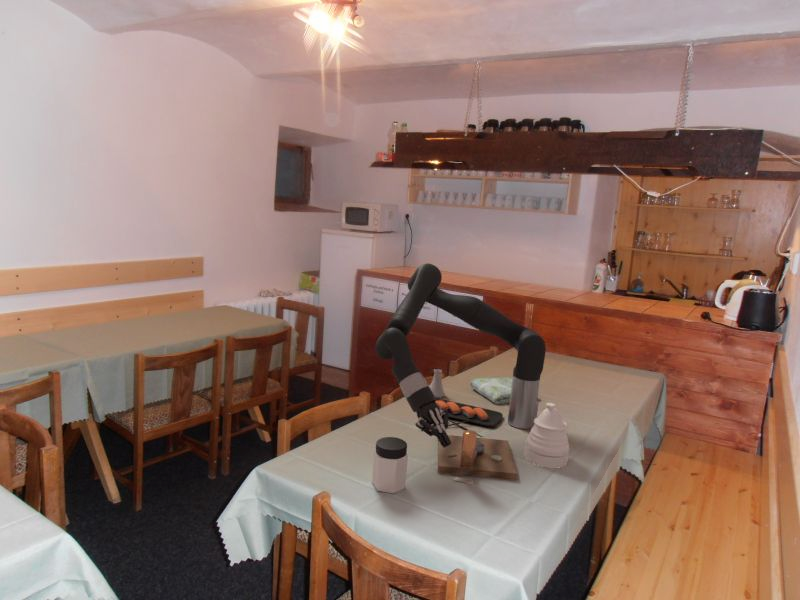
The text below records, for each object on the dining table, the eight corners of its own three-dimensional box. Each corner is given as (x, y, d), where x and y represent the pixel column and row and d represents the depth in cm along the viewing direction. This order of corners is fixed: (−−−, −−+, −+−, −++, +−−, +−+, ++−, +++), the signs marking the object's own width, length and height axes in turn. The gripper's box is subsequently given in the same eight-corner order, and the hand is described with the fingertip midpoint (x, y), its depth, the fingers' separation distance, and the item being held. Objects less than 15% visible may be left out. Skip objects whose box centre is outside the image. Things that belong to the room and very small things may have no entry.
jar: (388, 474, 159) (391, 433, 157) (411, 485, 154) (414, 443, 152) (365, 485, 152) (368, 442, 150) (388, 497, 147) (392, 453, 145)
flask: (443, 399, 221) (445, 374, 219) (425, 396, 222) (427, 372, 220) (446, 393, 228) (448, 369, 226) (428, 390, 229) (430, 366, 227)
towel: (538, 401, 228) (540, 388, 227) (494, 406, 219) (495, 393, 218) (511, 386, 244) (512, 374, 243) (468, 390, 235) (469, 378, 234)
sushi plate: (504, 417, 208) (505, 407, 207) (480, 448, 181) (482, 437, 180) (429, 401, 219) (430, 391, 219) (396, 428, 192) (397, 417, 192)
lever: (468, 446, 175) (472, 409, 173) (485, 449, 174) (488, 412, 171) (455, 474, 157) (459, 433, 155) (473, 478, 155) (478, 437, 153)
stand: (507, 446, 183) (508, 439, 182) (518, 489, 156) (519, 480, 156) (437, 439, 184) (438, 432, 183) (437, 481, 157) (438, 472, 157)
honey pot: (560, 472, 167) (568, 414, 164) (518, 459, 174) (524, 403, 171) (572, 457, 178) (580, 402, 175) (532, 445, 185) (539, 392, 182)
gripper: (423, 393, 173) (452, 444, 168) (394, 403, 163) (424, 458, 158) (439, 381, 169) (469, 433, 163) (410, 390, 159) (441, 447, 153)
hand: (447, 445), depth 161 cm, fingers closed
